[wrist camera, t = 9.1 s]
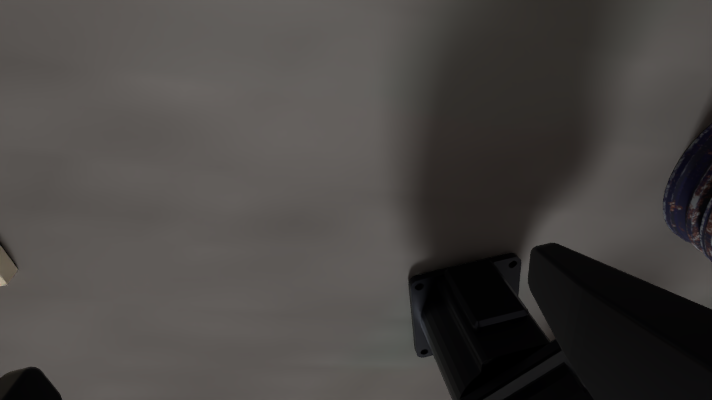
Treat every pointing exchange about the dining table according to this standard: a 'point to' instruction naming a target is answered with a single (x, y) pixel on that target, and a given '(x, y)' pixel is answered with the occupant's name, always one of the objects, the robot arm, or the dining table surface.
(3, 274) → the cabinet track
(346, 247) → the dining table surface
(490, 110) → the dining table surface
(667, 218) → the storage jar
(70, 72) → the dining table surface
